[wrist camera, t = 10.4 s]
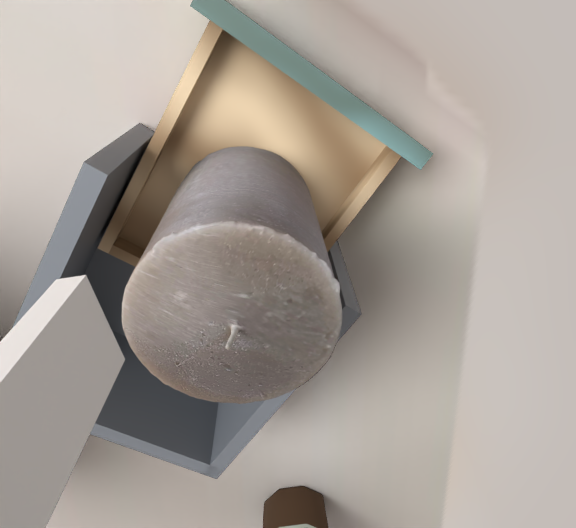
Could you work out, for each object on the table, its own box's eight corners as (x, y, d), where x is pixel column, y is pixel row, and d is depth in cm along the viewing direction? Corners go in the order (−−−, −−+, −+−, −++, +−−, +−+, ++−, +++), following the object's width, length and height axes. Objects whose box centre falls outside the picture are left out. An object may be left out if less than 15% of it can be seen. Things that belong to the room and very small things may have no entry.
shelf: (276, 314, 37) (277, 347, 33) (98, 224, 32) (75, 250, 28) (412, 138, 30) (433, 153, 26) (211, -10, 25) (200, -18, 21)
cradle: (227, 383, 41) (216, 479, 32) (52, 307, 36) (-18, 396, 27) (337, 241, 34) (361, 313, 25) (139, 123, 29) (83, 162, 20)
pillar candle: (239, 291, 34) (225, 457, 20) (147, 201, 30) (55, 335, 16) (339, 219, 31) (396, 354, 18) (252, 110, 27) (244, 181, 14)
